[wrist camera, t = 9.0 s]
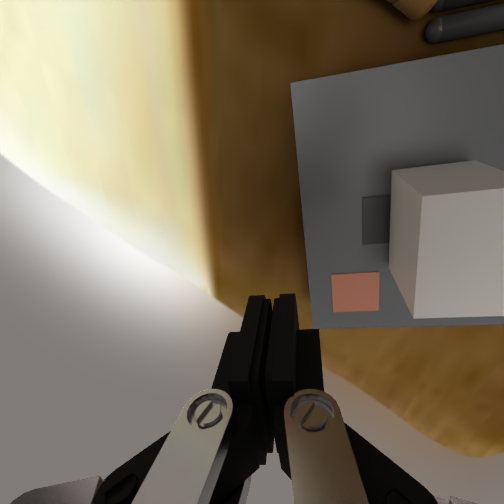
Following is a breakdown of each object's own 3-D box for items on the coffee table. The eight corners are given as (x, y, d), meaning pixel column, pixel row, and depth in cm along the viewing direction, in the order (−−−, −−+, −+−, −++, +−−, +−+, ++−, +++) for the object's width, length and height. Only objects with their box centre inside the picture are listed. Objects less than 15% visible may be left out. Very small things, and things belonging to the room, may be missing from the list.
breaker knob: (474, 160, 16) (539, 184, 12) (460, 263, 19) (509, 315, 14) (391, 170, 17) (422, 196, 12) (388, 267, 19) (413, 318, 15)
